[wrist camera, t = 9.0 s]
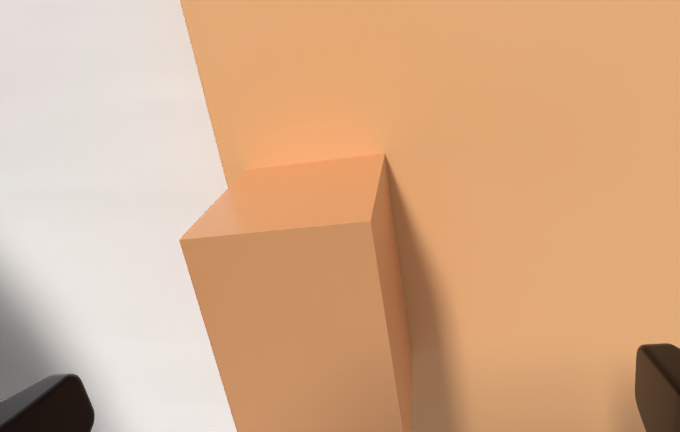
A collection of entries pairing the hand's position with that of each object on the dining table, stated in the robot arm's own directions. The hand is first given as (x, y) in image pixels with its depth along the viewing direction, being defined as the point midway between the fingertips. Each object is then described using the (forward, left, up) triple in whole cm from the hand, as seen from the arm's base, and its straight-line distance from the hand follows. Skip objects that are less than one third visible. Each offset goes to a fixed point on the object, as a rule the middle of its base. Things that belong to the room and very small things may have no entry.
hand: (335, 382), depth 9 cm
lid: (+5, 0, -5) cm, 7 cm away
